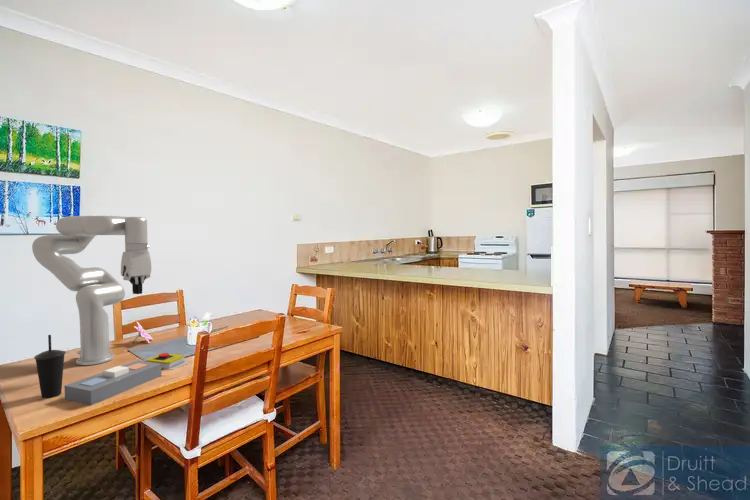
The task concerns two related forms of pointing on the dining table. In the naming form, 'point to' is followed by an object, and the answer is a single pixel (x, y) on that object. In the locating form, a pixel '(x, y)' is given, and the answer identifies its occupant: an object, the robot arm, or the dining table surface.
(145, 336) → the lily
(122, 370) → the off white key
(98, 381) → the slate blue key
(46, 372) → the drinking cup
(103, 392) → the key panel
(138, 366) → the terracotta key
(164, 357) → the emergency button
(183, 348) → the dining table surface
